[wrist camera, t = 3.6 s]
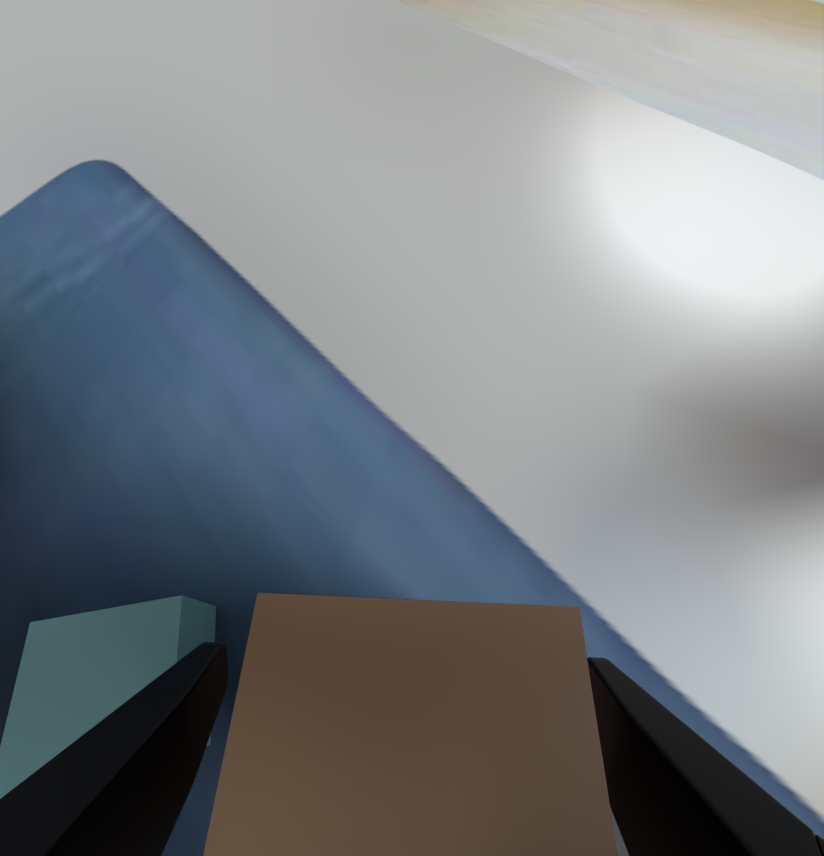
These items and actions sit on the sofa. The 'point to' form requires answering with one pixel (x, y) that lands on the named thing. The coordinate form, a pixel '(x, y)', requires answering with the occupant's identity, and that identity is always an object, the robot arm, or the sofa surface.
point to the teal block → (91, 673)
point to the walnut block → (412, 733)
